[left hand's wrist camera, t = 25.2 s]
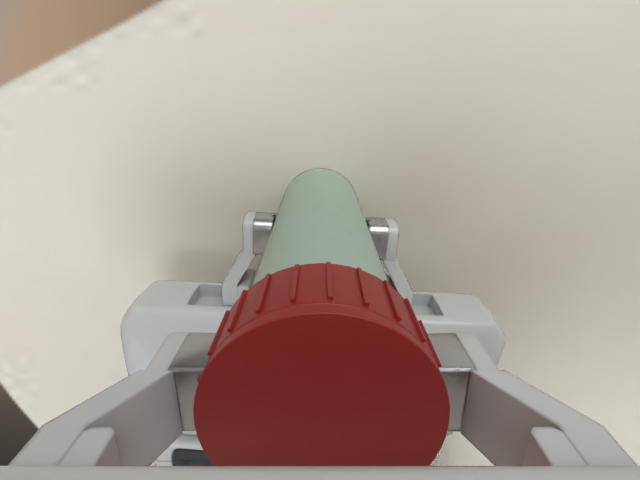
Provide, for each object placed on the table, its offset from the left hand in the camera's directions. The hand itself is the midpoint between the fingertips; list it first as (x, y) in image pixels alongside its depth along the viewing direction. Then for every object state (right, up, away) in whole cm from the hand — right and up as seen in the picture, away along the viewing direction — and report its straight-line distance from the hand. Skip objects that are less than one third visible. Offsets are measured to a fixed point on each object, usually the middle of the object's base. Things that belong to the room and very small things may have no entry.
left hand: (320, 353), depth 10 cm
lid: (0, -1, -2) cm, 2 cm away
